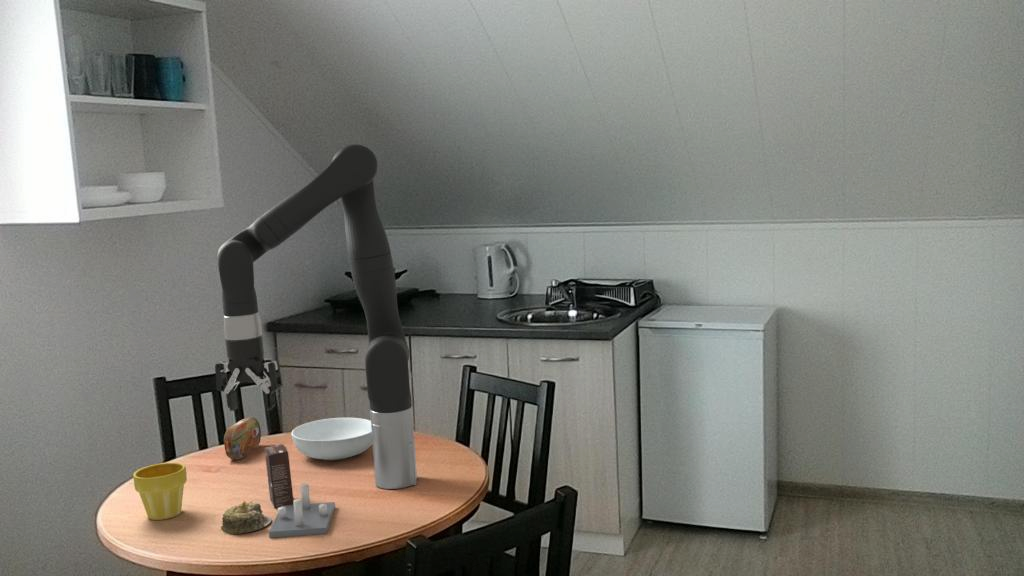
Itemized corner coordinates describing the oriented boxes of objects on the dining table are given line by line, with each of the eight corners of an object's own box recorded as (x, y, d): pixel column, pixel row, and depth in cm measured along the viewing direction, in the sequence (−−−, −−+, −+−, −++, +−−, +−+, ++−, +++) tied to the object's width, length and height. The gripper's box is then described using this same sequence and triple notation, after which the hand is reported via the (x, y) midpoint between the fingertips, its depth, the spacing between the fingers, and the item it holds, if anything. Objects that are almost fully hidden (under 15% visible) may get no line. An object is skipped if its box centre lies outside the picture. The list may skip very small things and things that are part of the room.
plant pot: (132, 514, 197) (127, 469, 196) (181, 501, 203) (177, 458, 202) (145, 528, 189) (140, 481, 187) (196, 515, 194) (192, 469, 193)
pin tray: (335, 507, 195) (332, 478, 194) (326, 533, 181) (324, 503, 180) (281, 511, 194) (279, 482, 193) (269, 537, 180) (266, 507, 180)
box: (268, 500, 201) (263, 446, 199) (289, 496, 203) (285, 443, 201) (272, 509, 196) (268, 454, 194) (294, 505, 197) (290, 450, 196)
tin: (235, 463, 228) (232, 430, 227) (223, 463, 229) (220, 430, 228) (263, 445, 243) (260, 413, 242) (252, 444, 243) (249, 413, 242)
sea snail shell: (224, 542, 181) (219, 516, 180) (218, 525, 190) (214, 501, 190) (275, 528, 185) (271, 502, 184) (267, 512, 194) (263, 488, 193)
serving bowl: (371, 466, 221) (369, 438, 220) (284, 470, 221) (281, 442, 220) (384, 440, 241) (383, 415, 241) (304, 444, 242) (302, 418, 241)
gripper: (282, 330, 198) (290, 405, 200) (223, 332, 201) (231, 405, 203) (265, 337, 190) (273, 414, 193) (203, 339, 194) (212, 414, 196)
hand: (251, 409), depth 198 cm, fingers open, 8 cm apart
